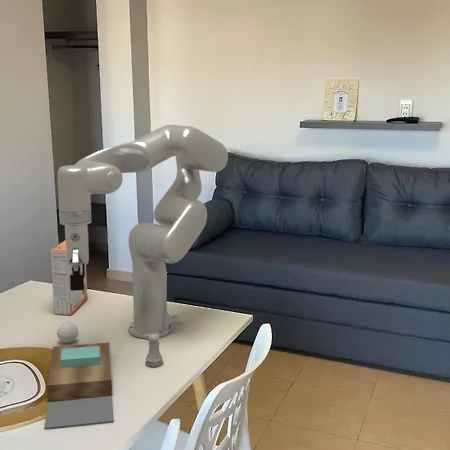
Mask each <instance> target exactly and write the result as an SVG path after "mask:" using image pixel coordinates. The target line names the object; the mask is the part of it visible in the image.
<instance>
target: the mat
mask: <svg viewBox="0 0 450 450" xmlns="http://www.w3.org/2000/svg"><path fill="white" fill-rule="evenodd" d="M113 402H114V401H113V395H112V396H104V397H94V398H83V399H72V400H62V401H51V402H47V407H46V414H45V422H44V430H53V429H63V428H73V427H82V426H83V427H85V426H92V425H93V426H94V425H101V424H102V425H103V424H111V423H115V422H114V420H115V419H114V403H113Z"/></svg>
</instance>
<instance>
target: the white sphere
mask: <svg viewBox="0 0 450 450" xmlns="http://www.w3.org/2000/svg"><path fill="white" fill-rule="evenodd" d="M56 335H57V338H58V340H59V341H61V342H62V343H65V344H69V343H73V342H74V341H76V340H77V338H78V336H79V329H78V326H77V325H76V324H75V323H73V322H70V321H69V322H64V323H62V324H60V326H59V327H58V329H57V332H56Z"/></svg>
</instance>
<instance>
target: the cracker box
mask: <svg viewBox="0 0 450 450" xmlns="http://www.w3.org/2000/svg"><path fill="white" fill-rule="evenodd" d="M49 253H50V266H51V268H50V269H51V279H52V281H51V282H52V294H53V295H52V296H53V297H52V299H53V305H54V306H53V307H54V309H53V310H54V315H56V316H57V315H58V316H59V315H60V316H61V315H62V316H73V315H74V313H75V312H77V310H79V309H80V308H81V306H83V304H84V303H85V302H86V301H87V300H88V285H87V284H88V283H87V265H86V264H85V277H84V290H78V291H71V290H70V274H71V265H69V264H68V261H67V252H66V239H65V240H63V241H62V242H60V243H59V244H57V245H56V246H54V247H53V248H51V249H50V251H49ZM72 262H73V261H72Z"/></svg>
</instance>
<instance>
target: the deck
mask: <svg viewBox="0 0 450 450" xmlns="http://www.w3.org/2000/svg"><path fill="white" fill-rule="evenodd" d="M93 346H99V349H100V365H88V366H76V367H64V368H61V351H62V349H67V348H80V347H93ZM110 346H111V345H110V342H109V341H108V342H98V343H97V342H96V343H83V344H70V345H56V346H52V350H51V351H52V352H51V360H50V365H49V371H48V372H49V373H48V379H47V386H46V387H47V399H48V400H47V401H48V402H58V401H69V400H79V399H90V398H101V397H111V396H112V397H113V383H112V380H113V379H112V363H111V347H110ZM48 402H47V403H48Z"/></svg>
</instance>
